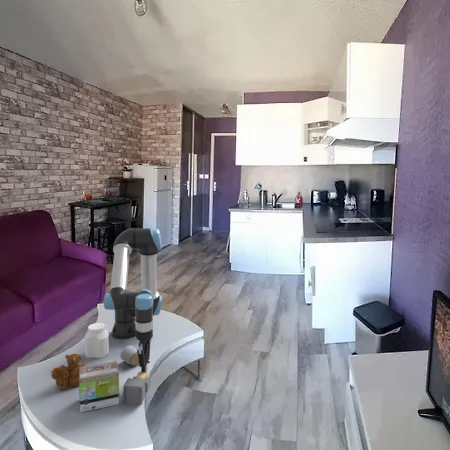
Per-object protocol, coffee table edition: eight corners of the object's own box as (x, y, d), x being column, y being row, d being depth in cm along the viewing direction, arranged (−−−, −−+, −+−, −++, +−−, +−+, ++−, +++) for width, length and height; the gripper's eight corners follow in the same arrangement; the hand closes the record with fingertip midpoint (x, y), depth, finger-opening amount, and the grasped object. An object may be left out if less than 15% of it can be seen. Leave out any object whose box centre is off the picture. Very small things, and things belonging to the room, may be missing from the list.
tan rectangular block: (138, 384, 158) (138, 371, 157) (147, 384, 158) (147, 372, 157) (129, 401, 146) (129, 388, 145) (138, 402, 146) (138, 389, 145)
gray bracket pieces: (133, 385, 157) (133, 368, 155) (150, 386, 156) (150, 370, 155) (123, 402, 145) (123, 385, 144) (141, 404, 144) (141, 386, 143)
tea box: (80, 414, 138) (78, 379, 135) (79, 398, 147) (78, 366, 144) (119, 405, 144) (119, 371, 141) (116, 390, 153) (116, 359, 150)
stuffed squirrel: (90, 381, 159) (89, 354, 157) (60, 396, 148) (58, 367, 146) (79, 373, 165) (78, 347, 163) (48, 387, 154) (47, 359, 152)
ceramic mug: (130, 369, 169) (130, 354, 168) (120, 362, 174) (120, 348, 173) (148, 360, 177) (148, 346, 176) (138, 355, 182) (138, 341, 181)
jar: (82, 357, 178) (81, 330, 176) (90, 348, 187) (89, 321, 185) (104, 358, 178) (104, 331, 175) (111, 349, 187) (110, 322, 185)
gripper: (140, 322, 162) (141, 369, 166) (130, 335, 150) (131, 385, 153) (156, 323, 162) (156, 370, 165) (147, 336, 149) (148, 387, 153)
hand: (144, 377), depth 159 cm, fingers closed
